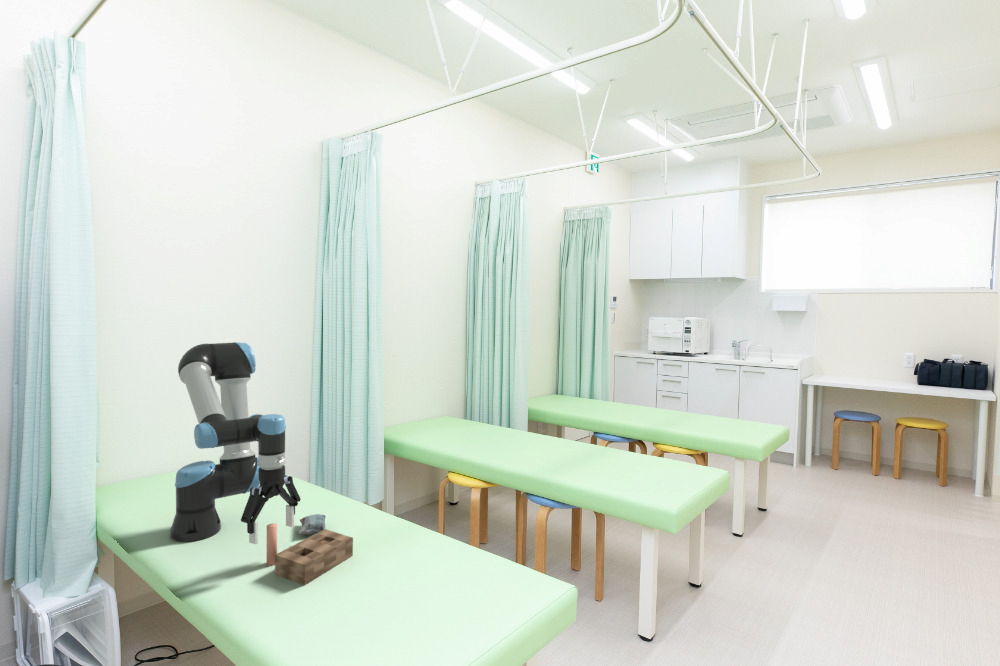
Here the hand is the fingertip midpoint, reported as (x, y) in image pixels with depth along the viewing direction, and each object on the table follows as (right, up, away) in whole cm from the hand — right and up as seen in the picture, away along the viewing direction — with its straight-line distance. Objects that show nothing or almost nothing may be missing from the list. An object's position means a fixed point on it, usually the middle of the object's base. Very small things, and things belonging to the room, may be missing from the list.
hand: (272, 534), depth 166 cm
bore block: (+13, -10, +1) cm, 16 cm away
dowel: (-1, -9, +1) cm, 9 cm away
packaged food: (+4, -8, +24) cm, 26 cm away
